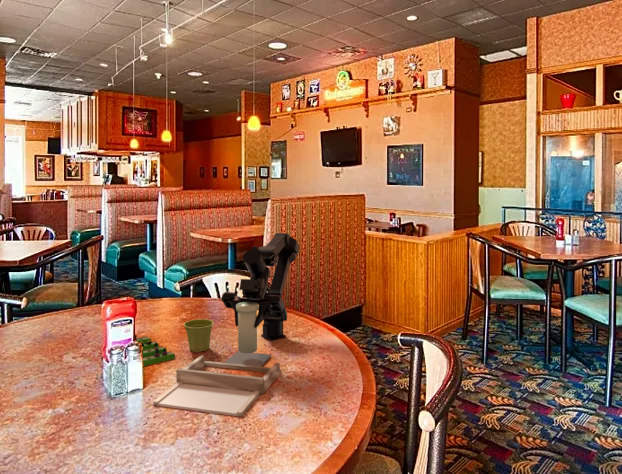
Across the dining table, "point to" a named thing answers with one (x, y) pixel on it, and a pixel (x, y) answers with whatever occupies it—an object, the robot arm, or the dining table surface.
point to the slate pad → (249, 359)
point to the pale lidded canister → (247, 326)
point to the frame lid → (207, 399)
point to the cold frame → (227, 376)
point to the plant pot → (199, 334)
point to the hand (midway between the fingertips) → (245, 326)
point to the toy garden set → (153, 351)
